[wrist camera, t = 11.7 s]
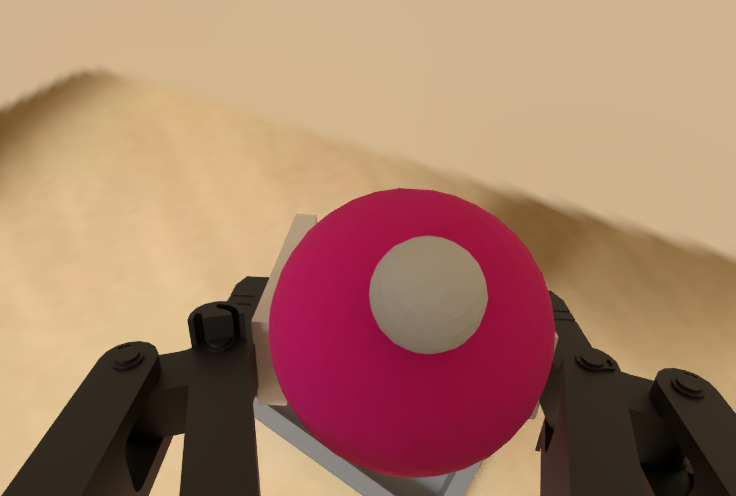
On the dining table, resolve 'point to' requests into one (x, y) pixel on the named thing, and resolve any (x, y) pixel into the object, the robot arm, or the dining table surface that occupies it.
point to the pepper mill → (411, 333)
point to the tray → (377, 489)
